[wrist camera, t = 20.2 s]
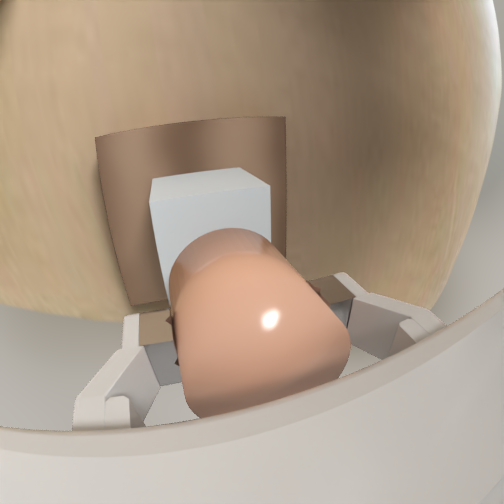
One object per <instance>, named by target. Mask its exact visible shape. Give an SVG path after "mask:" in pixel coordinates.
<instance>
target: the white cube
mask: <svg viewBox="0 0 504 504" xmlns="http://www.w3.org/2000/svg"><path fill="white" fill-rule="evenodd" d="M149 205H150V211H151V217H152V223H153V229H154V235H155V240H156V245H157V251H158V256H159V261H160V266H161V270H162V275H163V280H164V284H165V289H166V293H167V297H168V301H169V306H171V305H170V296H169V276H170V272H171V269H172V266H173V264H174V262H175V260H176V259H177V257H178V256H179V254H180V253H181V252H182V251H183V249H184V248H185V247H186V246H187V245H189V244H190V243H191V242H192V241H194V240H195V239H197V238H198V237H200V236H202V235H204V234H206V233H209V232H211V231H214V230H219V229H224V228H242V229H247V230H251V231H254V232H256V233H258V234H260V235H262V236H263V237H265V238H266V239H268V240H269V241H270V242H271V200H270V185H268V184H267V183H265V182H263V181H262V180H260V179H258V178H257V177H255V176H253V175H252V174H250V173H248V172H247V171H245V170H243V169H242V168H240V167H238V168H228V169H219V170H210V171H202V172H194V173H187V174H180V175H173V176H166V177H160V178H154V179H152V186H151V192H150V199H149Z"/></svg>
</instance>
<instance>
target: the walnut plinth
mask: <svg viewBox="0 0 504 504" xmlns="http://www.w3.org/2000/svg"><path fill="white" fill-rule="evenodd" d="M95 143H96V151H97V159H98V166H99V173H100V179H101V185H102V191H103V196H104V202H105V207H106V212H107V217H108V221H109V226H110V230H111V235H112V239H113V243H114V247H115V251H116V255H117V259H118V263H119V267H120V270H121V274H122V278H123V281H124V284H125V288H126V291H127V295H128V298H129V301H130V304H131V306H133V305H139V304H145V303H151V302H156V301H162V300H168V297H167V293H166V289H165V284H164V280H163V275H162V270H161V266H160V261H159V256H158V251H157V245H156V240H155V235H154V229H153V223H152V217H151V211H150V205H149V199H150V192H151V186H152V179H154V178H160V177H166V176H173V175H180V174H187V173H194V172H202V171H210V170H219V169H228V168H238V167H240V168H242V169H243V170H245V171H247V172H248V173H250V174H252V175H253V176H255V177H257V178H258V179H260V180H262V181H263V182H265V183H267V184H268V185H270V200H271V243H272V244H273V245H274V246H275V248H276V249H277V250H278V251H279V252H280V253H281V254H282V255H283V256H284V257H285V259H286V119H285V117H243V118H225V119H212V120H201V121H191V122H182V123H174V124H166V125H159V126H152V127H146V128H140V129H134V130H129V131H123V132H118V133H113V134H108V135H104V136H99V137H95Z"/></svg>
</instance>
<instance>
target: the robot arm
mask: <svg viewBox="0 0 504 504" xmlns="http://www.w3.org/2000/svg"><path fill="white" fill-rule="evenodd" d="M306 282H307V283H308V284H309V285H310V287H311V288H312V289H313V290H314V291H315V292H316V293H317V294H318V296H319V297H320V298H321V299H322V300H323V301H324V302H325V303H326V305H327V306H328V307H329V308H330V309H331V310H332V311H333V313H334V314H335V315H336V316H337V317H338V318H339V319H340V321H341V322H342V323H343V324H344V325H345V327H346V328H347V330H348V333H349V335H350V340H351V344H352V345H354V346H356V347H358V348H360V349H362V350H364V351H366V352H367V353H370V354H371V355H374V356H375V357H377V358H380V359H381V361H379V362H377V363H375V364H372V365H370V366H368V367H365V368H363V369H361V370H358V371H356V372H354V373H351V374H349V375H346V376H344V377H341V378H339V379H336V380H333V381H331V382H328V383H325V384H323V385H320V386H317V387H314V388H311V389H309V390H306V391H303V392H300V393H297V394H294V395H290V396H287V397H284V398H281V399H277V400H274V401H271V402H267V403H264V404H260V405H256V406H253V407H249V408H245V409H241V410H237V411H233V412H228V413H224V414H219V415H215V416H210V417H205V418H200V419H194V420H189V421H183V422H177V423H171V424H163V425H156V426H148V427H146V426H145V424H144V423H143V421H144V419H145V417H146V415H147V413H148V411H149V409H150V407H151V405H152V403H153V401H154V399H155V397H156V395H157V393H158V391H159V389H160V386H164V385H169V384H174V383H179V382H182V378H181V373H180V367H179V361H178V354H177V347H176V340H175V335H174V326H173V319H172V315H171V311H170V309H163V310H157V311H150V312H143V313H136V314H130V315H125V317H124V322H123V334H122V348H121V349H118V350H117V351H116V352H115V353H114V354H113V355H112V356H111V357H110V358H109V360H108V361H107V362H106V363H105V364H104V365H103V367H102V368H101V369H100V370H99V371H98V373H97V374H96V375H95V376H94V377H93V378H92V380H91V381H90V382H89V383H88V384H87V385H86V387H85V388H84V389H83V390H82V391H81V392H80V394H79V395H78V396H77V397H76V399H75V407H74V416H73V427H72V431H49V430H30V429H19V428H9V427H1V426H0V504H504V289H503V290H501V291H500V292H498V293H497V294H495V295H494V296H493V297H491V298H490V299H489V300H487V301H486V302H484V303H483V304H481V305H480V306H478V307H477V308H475V309H474V310H472V311H471V312H469V313H468V314H466V315H464V316H463V317H461V318H460V319H458V320H456V321H455V322H453V323H452V324H450V325H448V326H447V325H446V324H445V323H443V322H442V321H441V320H440V319H439V318H437V317H436V316H435V315H434V314H433V313H432V312H431V311H429V310H428V309H426V308H422V307H419V306H416V305H412V304H409V303H406V302H402V301H399V300H396V299H392V298H389V297H385V296H382V295H379V294H375V293H368V292H367V291H365V290H364V289H363V288H362V287H361V286H360V285H359V284H358V283H356V282H355V281H354V280H353V279H352V278H351V277H350V276H348V275H347V274H346V273H344V272H339V273H336V274H332V275H330V276H326V277H322V278H318V279H314V280H309V281H306Z"/></svg>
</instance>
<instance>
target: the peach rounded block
mask: <svg viewBox="0 0 504 504" xmlns="http://www.w3.org/2000/svg"><path fill="white" fill-rule="evenodd" d="M169 296H170V305H171V313H172V319H173V326H174V335H175V340H176V347H177V354H178V361H179V367H180V373H181V378H182V384H183V389H184V394H185V398H186V402H187V404H188V406H189V408H190V409H191V410H192V411H193V412H194V413H195V414H196V415H197V416H198V417H200V418H205V417H210V416H215V415H219V414H224V413H228V412H233V411H237V410H241V409H245V408H249V407H253V406H256V405H260V404H264V403H267V402H271V401H274V400H277V399H281V398H284V397H287V396H290V395H294V394H297V393H300V392H303V391H306V390H309V389H311V388H314V387H317V386H320V385H323V384H325V383H328V382H331V381H333V380H336V379H338V377H339V376H340V374H341V373H342V371H343V369H344V367H345V365H346V363H347V361H348V358H349V355H350V349H351V340H350V335H349V333H348V330H347V328H346V327H345V325H344V324H343V323H342V322H341V321H340V319H339V318H338V317H337V316H336V315H335V314H334V313H333V311H332V310H331V309H330V308H329V307H328V306H327V305H326V303H325V302H324V301H323V300H322V299H321V298H320V297H319V296H318V294H317V293H316V292H315V291H314V290H313V289H312V288H311V287H310V285H309V284H308V283H307V282H306V281H305V280H304V279H303V278H302V276H301V275H300V274H299V273H298V272H297V271H296V270H295V269H294V267H293V266H292V265H291V264H290V263H289V262H288V261H287V260H286V259H285V257H284V256H283V255H282V254H281V253H280V252H279V251H278V250H277V249H276V248H275V246H274V245H273V244H272V243H271V242H270V241H269V240H268V239H266V238H265V237H263V236H262V235H260V234H258V233H256V232H254V231H251V230H247V229H242V228H224V229H219V230H214V231H211V232H209V233H206V234H204V235H202V236H200V237H198V238H197V239H195V240H194V241H192V242H191V243H190V244H189V245H187V246H186V247H185V248H184V249H183V251H182V252H181V253H180V254H179V256H178V257H177V259H176V260H175V262H174V264H173V266H172V269H171V272H170V276H169Z"/></svg>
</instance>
